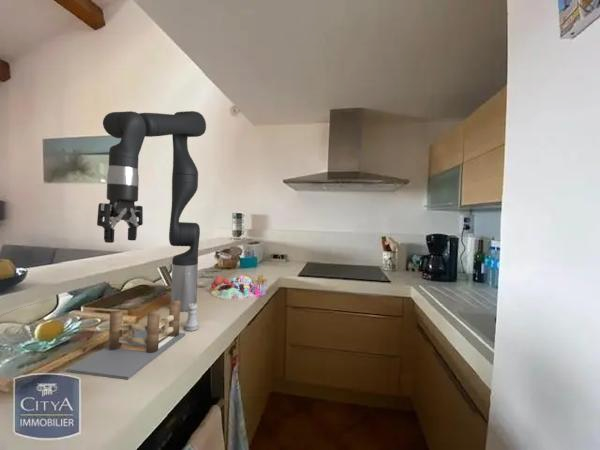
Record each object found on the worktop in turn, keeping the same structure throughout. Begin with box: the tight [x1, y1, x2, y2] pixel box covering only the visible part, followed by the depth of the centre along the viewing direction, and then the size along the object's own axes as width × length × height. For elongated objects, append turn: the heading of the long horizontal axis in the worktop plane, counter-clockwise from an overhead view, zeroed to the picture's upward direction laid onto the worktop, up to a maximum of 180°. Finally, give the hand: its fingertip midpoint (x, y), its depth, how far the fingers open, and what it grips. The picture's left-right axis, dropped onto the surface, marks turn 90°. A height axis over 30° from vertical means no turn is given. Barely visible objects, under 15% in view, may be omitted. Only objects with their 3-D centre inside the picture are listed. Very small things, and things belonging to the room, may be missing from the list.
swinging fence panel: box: [108, 310, 147, 349], centre depth 75 cm, size 10×3×9 cm, turn 88°
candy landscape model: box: [209, 273, 268, 301], centre depth 136 cm, size 25×24×9 cm
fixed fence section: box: [146, 300, 181, 353], centre depth 79 cm, size 13×3×10 cm, turn 173°
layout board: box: [66, 330, 186, 380], centre depth 75 cm, size 24×15×1 cm, turn 173°
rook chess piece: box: [184, 303, 200, 332], centre depth 91 cm, size 4×4×8 cm
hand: (121, 241), depth 80 cm, fingers open, 8 cm apart
